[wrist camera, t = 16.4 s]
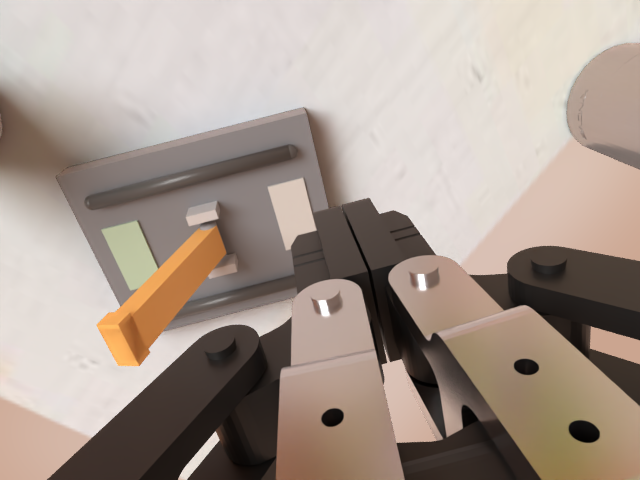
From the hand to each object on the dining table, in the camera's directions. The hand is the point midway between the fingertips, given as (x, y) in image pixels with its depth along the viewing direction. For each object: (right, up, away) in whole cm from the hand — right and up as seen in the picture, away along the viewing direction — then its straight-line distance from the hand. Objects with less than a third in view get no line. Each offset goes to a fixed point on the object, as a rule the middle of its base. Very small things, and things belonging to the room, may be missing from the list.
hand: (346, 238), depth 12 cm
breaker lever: (-10, 0, +27) cm, 29 cm away
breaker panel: (-10, +1, +30) cm, 32 cm away
